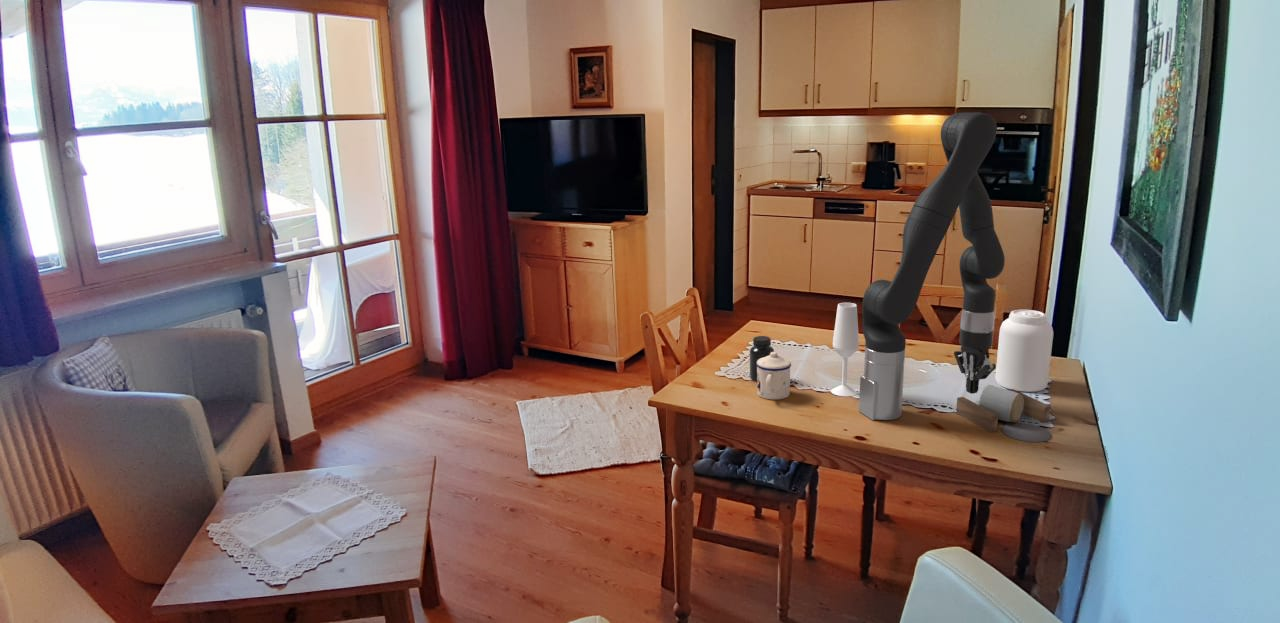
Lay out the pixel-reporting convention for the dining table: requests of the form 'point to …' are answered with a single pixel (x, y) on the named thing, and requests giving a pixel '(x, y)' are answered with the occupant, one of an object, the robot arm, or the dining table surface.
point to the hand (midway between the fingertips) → (971, 392)
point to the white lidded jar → (1024, 351)
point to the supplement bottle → (759, 353)
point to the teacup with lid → (773, 377)
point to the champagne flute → (845, 342)
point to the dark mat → (1026, 432)
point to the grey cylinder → (1002, 403)
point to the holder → (990, 419)
